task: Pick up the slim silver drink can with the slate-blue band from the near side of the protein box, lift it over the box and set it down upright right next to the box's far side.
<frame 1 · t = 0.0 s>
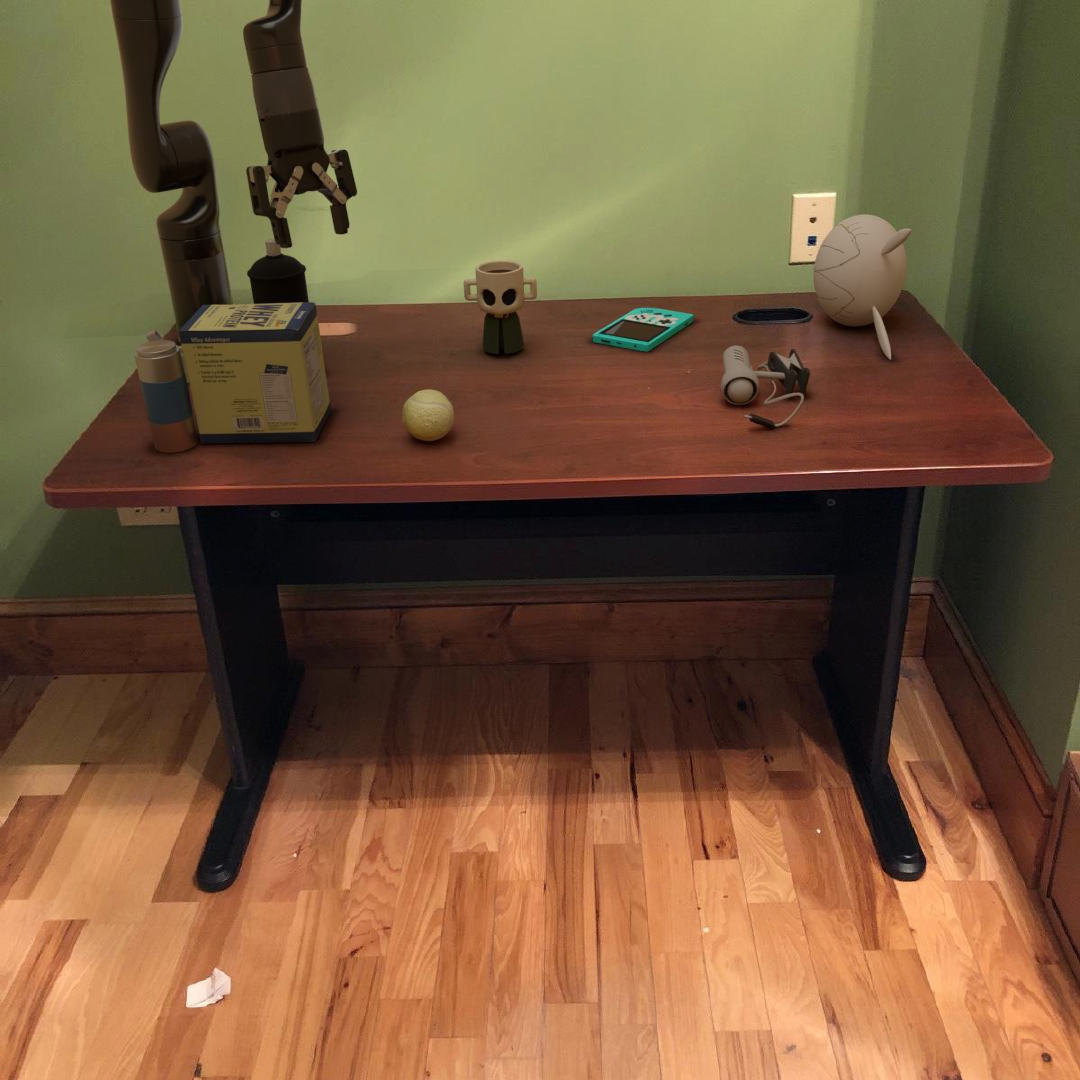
hand: (314, 240, 149), 22 cm above the table, tool pointing down, fingers open, 8 cm apart
handheld game console: (644, 332, 180), on the table
tennis ball: (430, 441, 148), on the table
clip-on lamp: (764, 406, 154), on the table
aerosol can: (292, 376, 169), on the table
character mug: (503, 351, 175), on the table
lighter: (181, 382, 168), on the table
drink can: (176, 444, 149), on the table
protein box: (267, 429, 153), on the table
beige egg-shaped piece: (861, 332, 177), on the table
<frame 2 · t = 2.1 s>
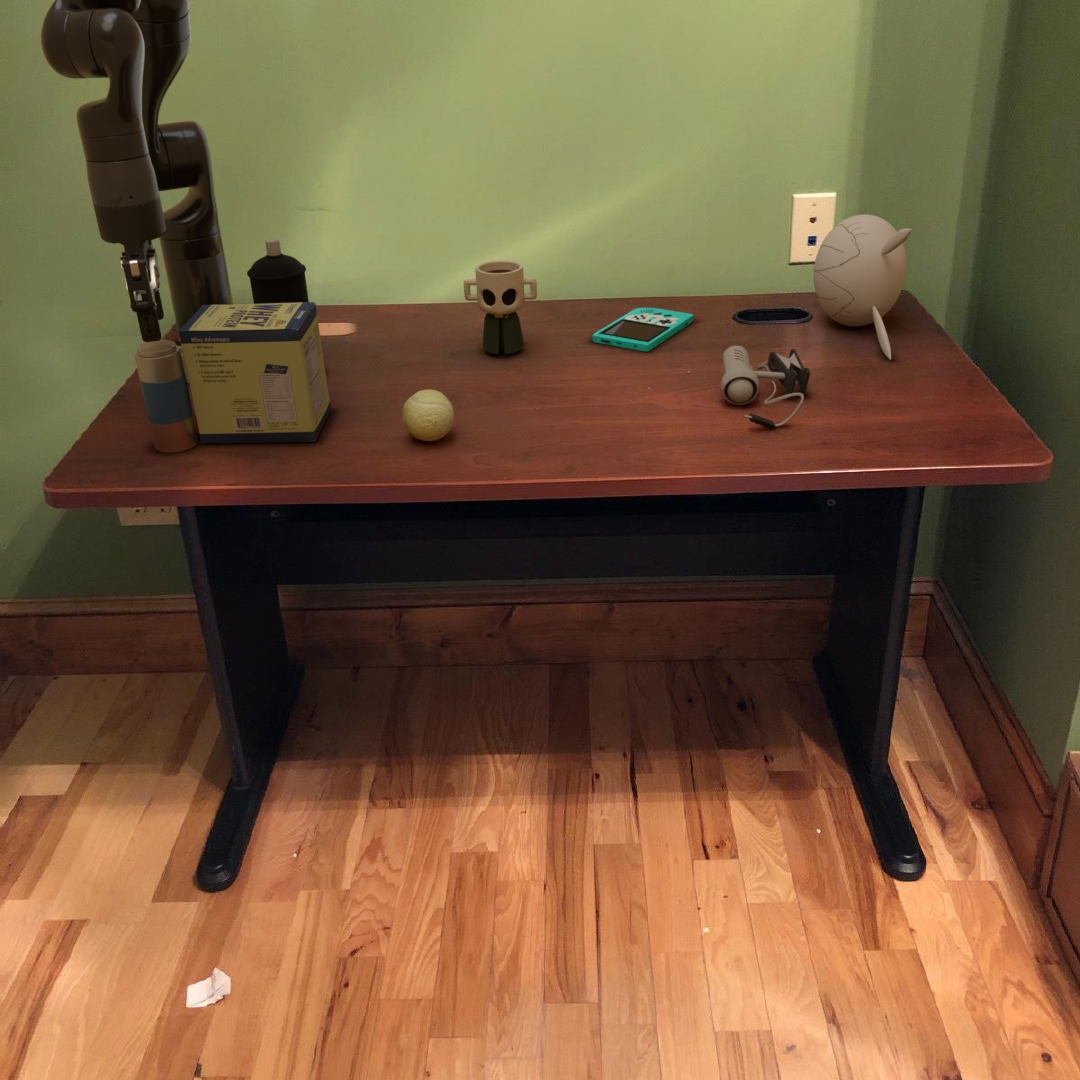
hand: (154, 329, 141), 16 cm above the table, tool pointing down, fingers open, 8 cm apart
nothing on the table moved.
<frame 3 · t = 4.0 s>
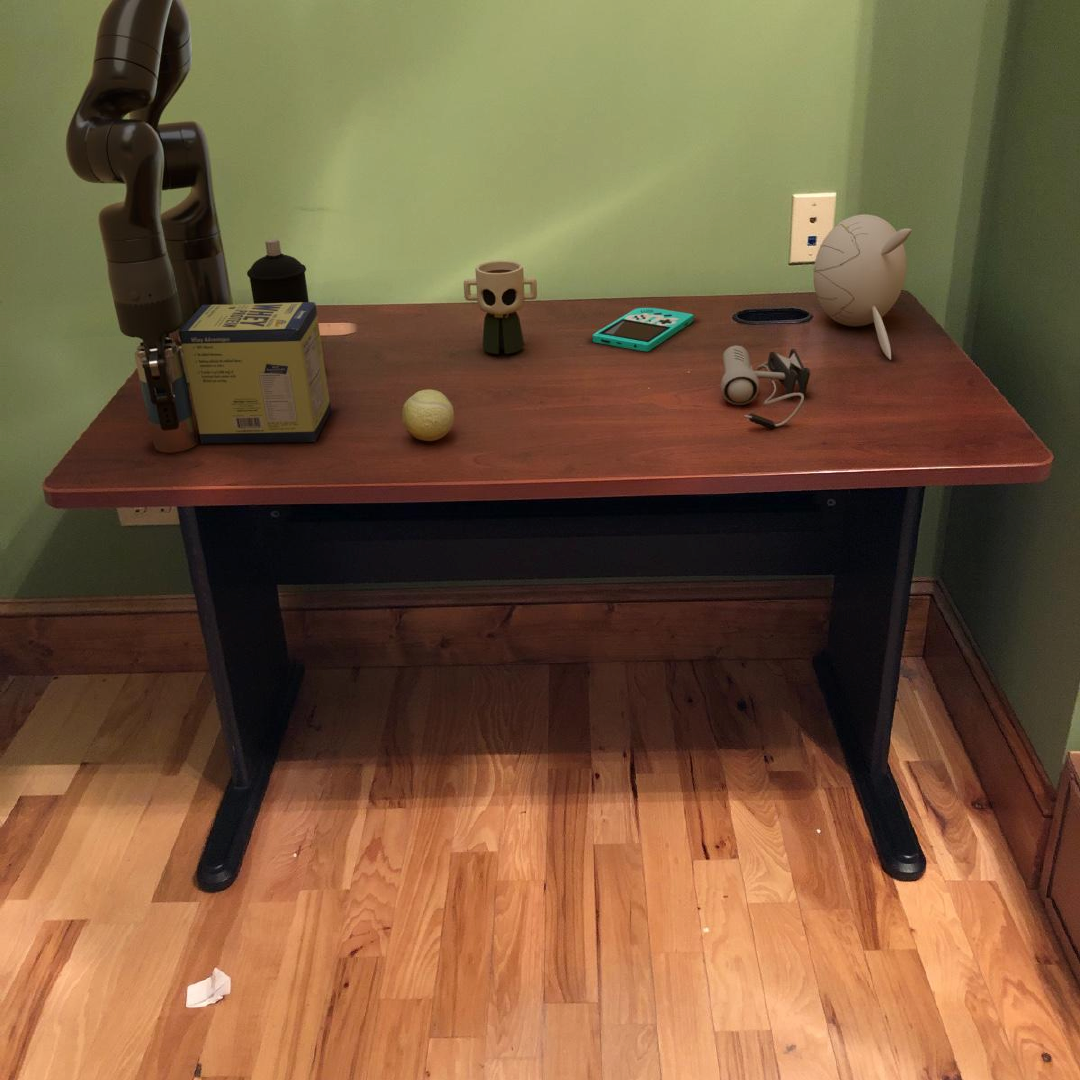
hand: (171, 418, 147), 4 cm above the table, tool pointing down, fingers closed on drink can, 5 cm apart
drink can: (176, 444, 149), on the table, touching gripper
everything else where it was.
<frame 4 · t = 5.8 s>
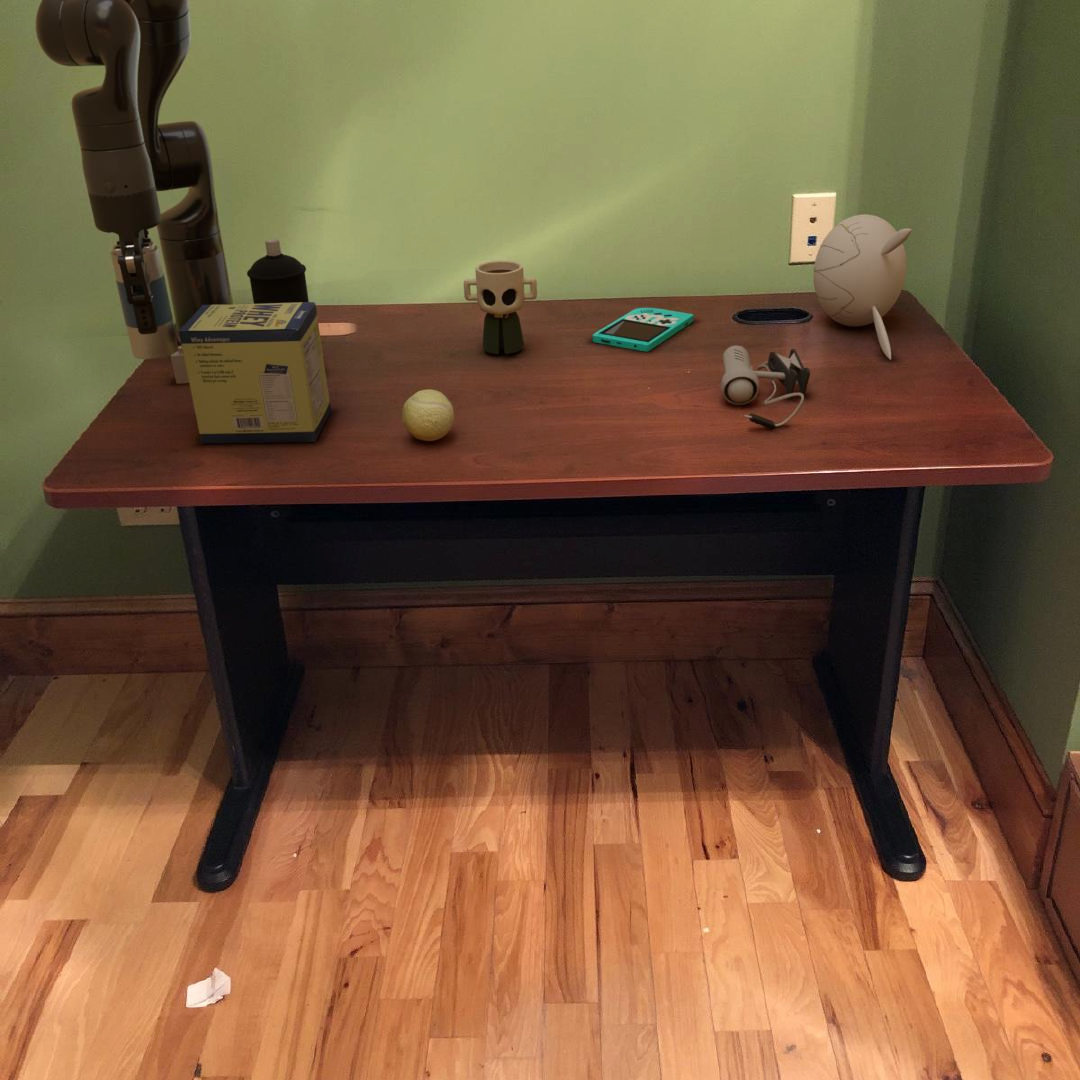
hand: (150, 324, 141), 16 cm above the table, tool pointing down, fingers closed on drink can, 5 cm apart
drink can: (155, 351, 143), point 13 cm above the table, touching gripper
everything else where it was.
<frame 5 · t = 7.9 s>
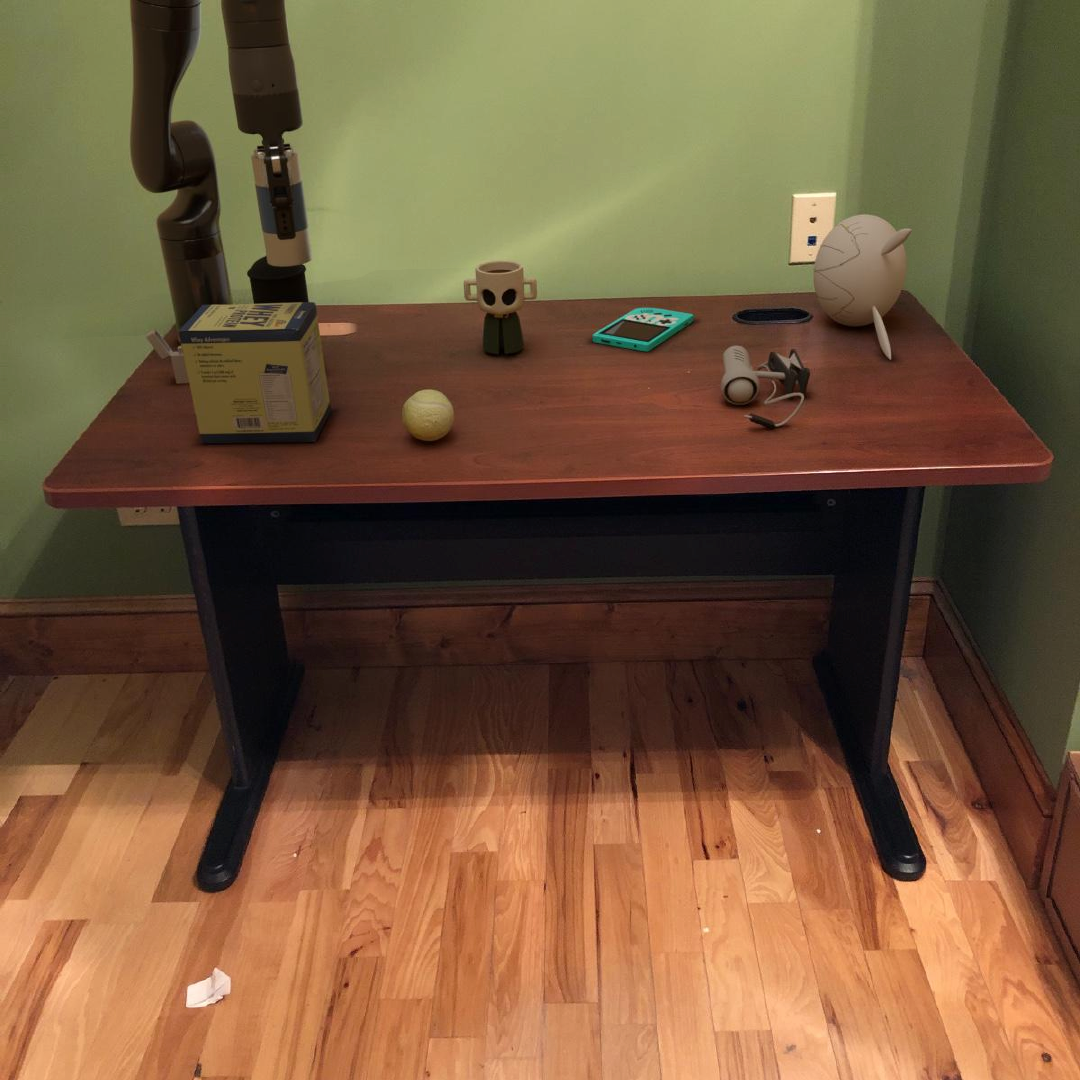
hand: (286, 231, 141), 26 cm above the table, tool pointing down, fingers closed on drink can, 5 cm apart
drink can: (289, 260, 143), point 22 cm above the table, touching gripper
everything else where it was.
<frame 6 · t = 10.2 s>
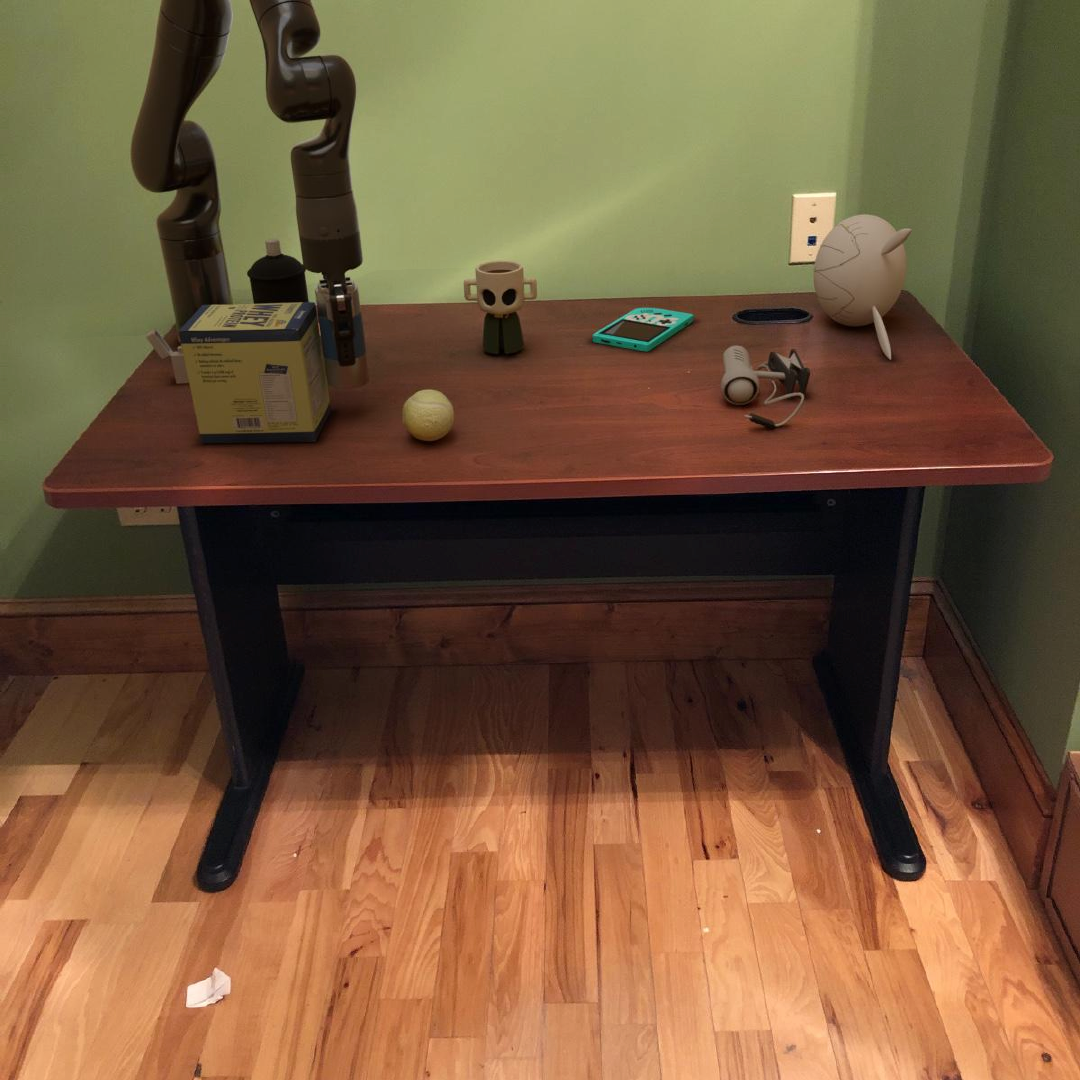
hand: (345, 356, 151), 8 cm above the table, tool pointing down, fingers closed on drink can, 5 cm apart
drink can: (348, 381, 153), point 5 cm above the table, touching gripper
everything else where it was.
when the fingers open (4 cm above the table, at t = 12.0 s): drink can stays where it is, on the table.
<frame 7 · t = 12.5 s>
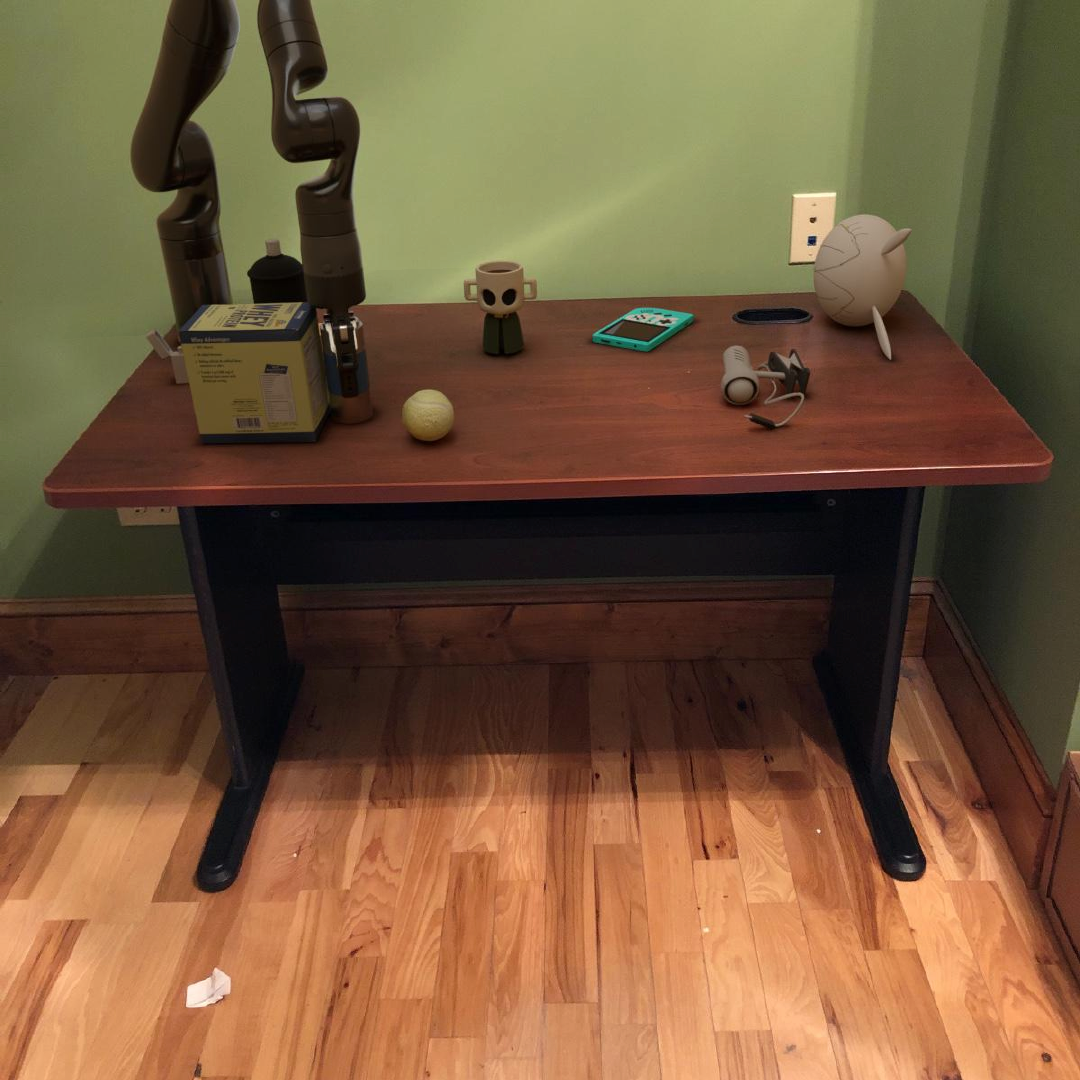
hand: (347, 385, 153), 4 cm above the table, tool pointing down, fingers open, 8 cm apart
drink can: (352, 415, 155), on the table
everything else where it was.
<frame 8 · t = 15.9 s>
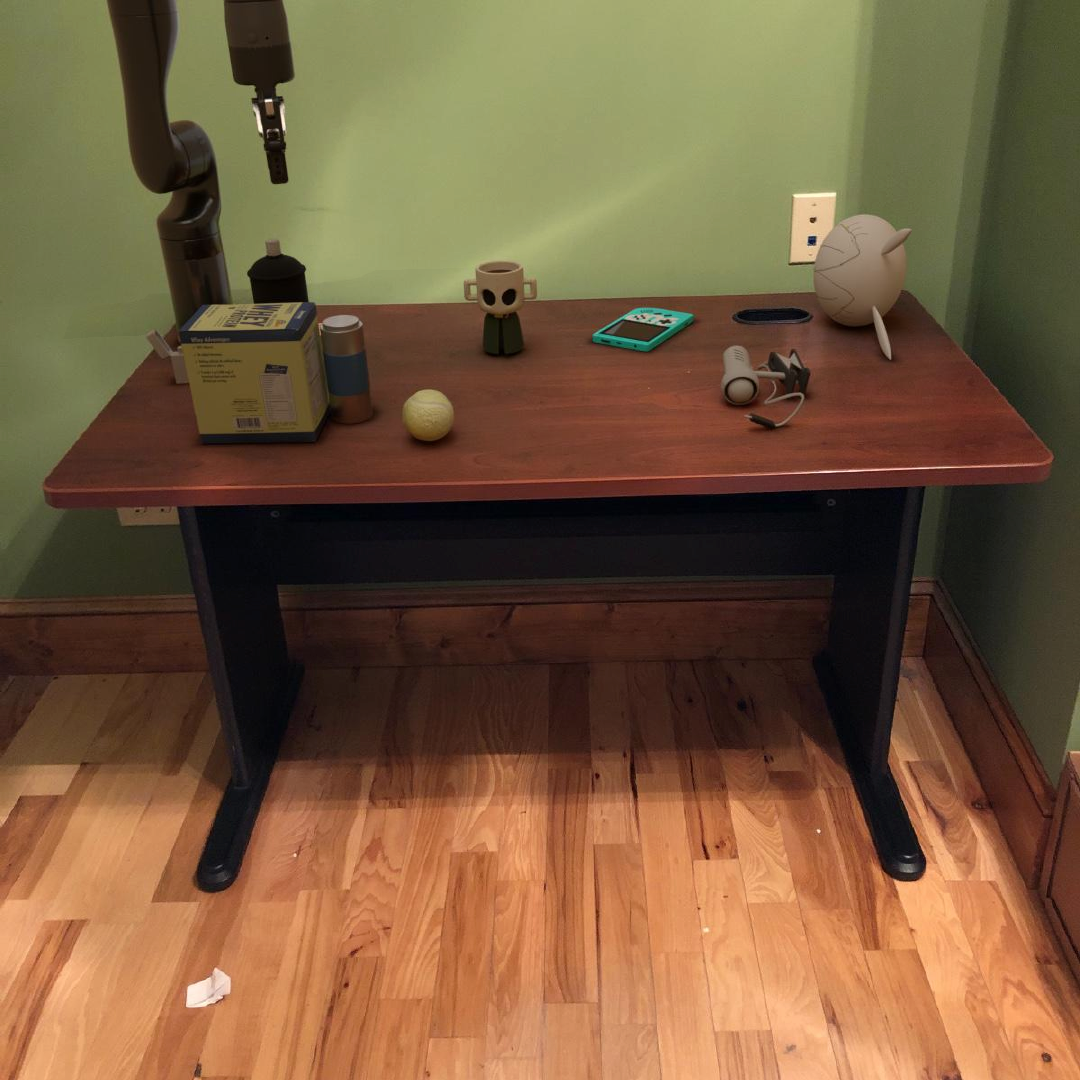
hand: (278, 176, 148), 30 cm above the table, tool pointing down, fingers open, 8 cm apart
nothing on the table moved.
at the end: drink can inside the target area on the table beside the protein box (0.6 cm from its centre), on the table; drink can tilted 0°; the gripper is holding nothing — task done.
